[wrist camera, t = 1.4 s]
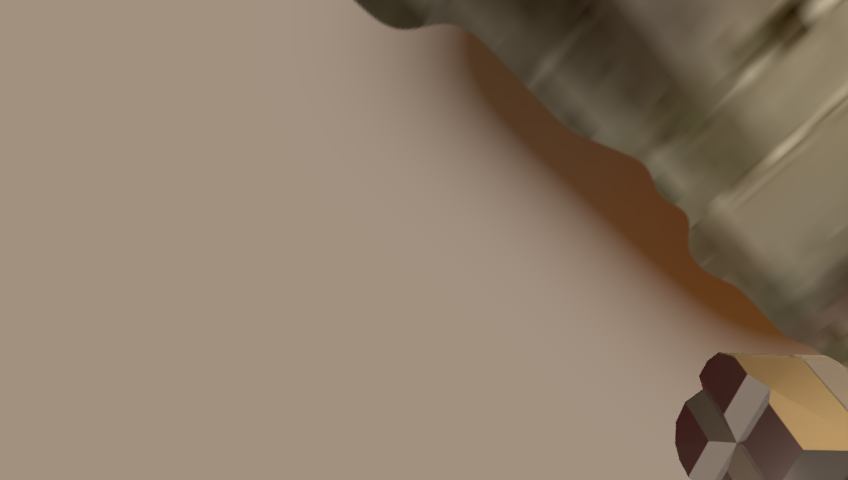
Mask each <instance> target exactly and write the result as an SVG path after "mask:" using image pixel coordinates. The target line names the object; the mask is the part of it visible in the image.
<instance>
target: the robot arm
mask: <svg viewBox="0 0 848 480" xmlns="http://www.w3.org/2000/svg"><path fill="white" fill-rule="evenodd" d="M699 377H700V381H701V385H702V388H703V390H701V391H700V392H699V393H697V394H696V395H694V396H693V397H692V398H690V399H689V400H687V401H686V402H685V404H684V406H683V408H682V410H681V412H680V414H679V416H678V419H677V421H676V434H675V444H676V448H677V452H678V456H679V460H680V462H681V464H682V466H683V468H684V469H685V471H686V473H687V475H688V477H689V478H690V479H692V480H848V372H847V371H846V369H845V368H844V367H843V366H842V365H841V364H840V363H839V362H837V361H835V360H833V359H831V358H830V357H828V356H826V355H788V356H786V355H769V354H745V353H721V352H718V353H717V354H716V355H714V356H713V357H712V358H710V359H709V360H708V361H707V362H706V364H705V366H704V368H703V370H702V371H701V373H700V375H699Z"/></svg>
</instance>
